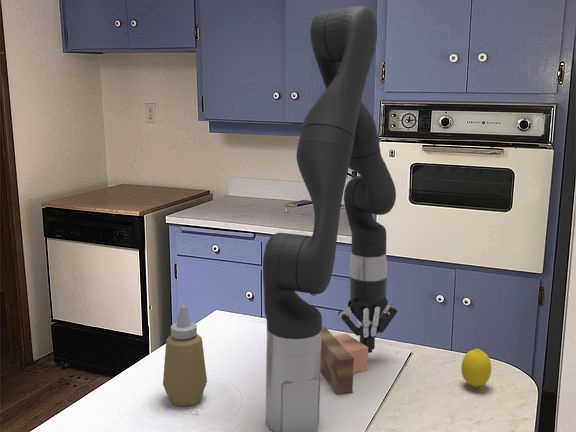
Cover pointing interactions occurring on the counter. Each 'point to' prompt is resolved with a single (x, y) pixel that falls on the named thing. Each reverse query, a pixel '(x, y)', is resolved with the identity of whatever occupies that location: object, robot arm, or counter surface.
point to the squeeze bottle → (184, 362)
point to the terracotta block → (355, 351)
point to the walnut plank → (336, 363)
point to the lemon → (476, 368)
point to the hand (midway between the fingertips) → (367, 351)
